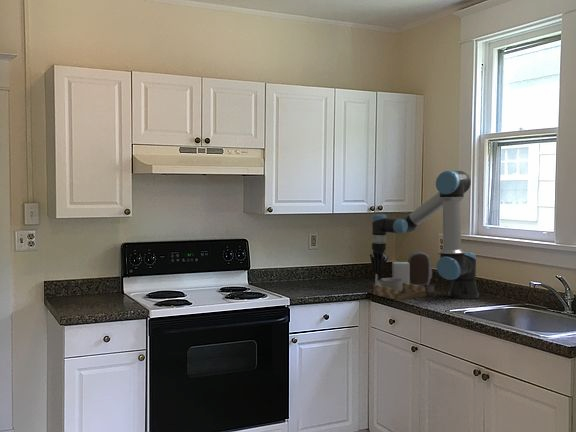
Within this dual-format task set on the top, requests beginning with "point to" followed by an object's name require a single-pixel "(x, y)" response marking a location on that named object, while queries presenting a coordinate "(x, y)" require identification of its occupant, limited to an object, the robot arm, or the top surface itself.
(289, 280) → the top surface
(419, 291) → the bay
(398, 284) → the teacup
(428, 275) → the dark brown rounded block
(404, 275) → the supplement box
